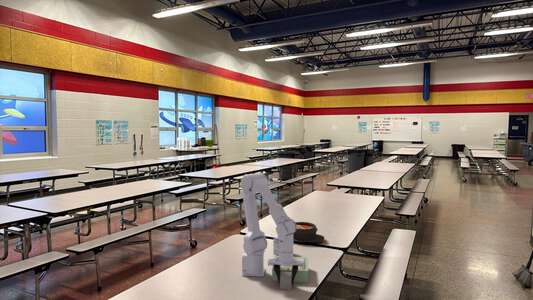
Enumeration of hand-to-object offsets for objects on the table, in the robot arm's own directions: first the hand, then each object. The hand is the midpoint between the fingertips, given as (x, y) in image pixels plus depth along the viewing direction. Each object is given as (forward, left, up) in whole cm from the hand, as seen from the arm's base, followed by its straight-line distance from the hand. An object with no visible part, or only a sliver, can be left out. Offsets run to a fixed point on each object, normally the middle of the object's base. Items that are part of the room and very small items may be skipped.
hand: (285, 283), depth 130 cm
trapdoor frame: (+2, +11, -2) cm, 12 cm away
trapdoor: (+2, +12, +1) cm, 12 cm away
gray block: (0, 0, -1) cm, 1 cm away
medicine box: (-4, +35, -2) cm, 36 cm away
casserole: (+7, +57, -2) cm, 58 cm away
